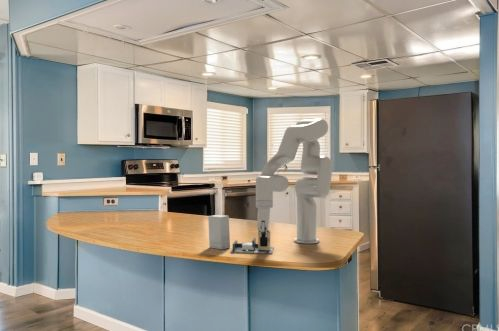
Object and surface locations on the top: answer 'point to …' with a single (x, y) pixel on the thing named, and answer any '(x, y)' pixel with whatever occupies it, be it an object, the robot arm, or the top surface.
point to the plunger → (249, 245)
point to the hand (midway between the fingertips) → (264, 244)
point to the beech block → (267, 241)
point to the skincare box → (219, 231)
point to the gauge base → (238, 249)
